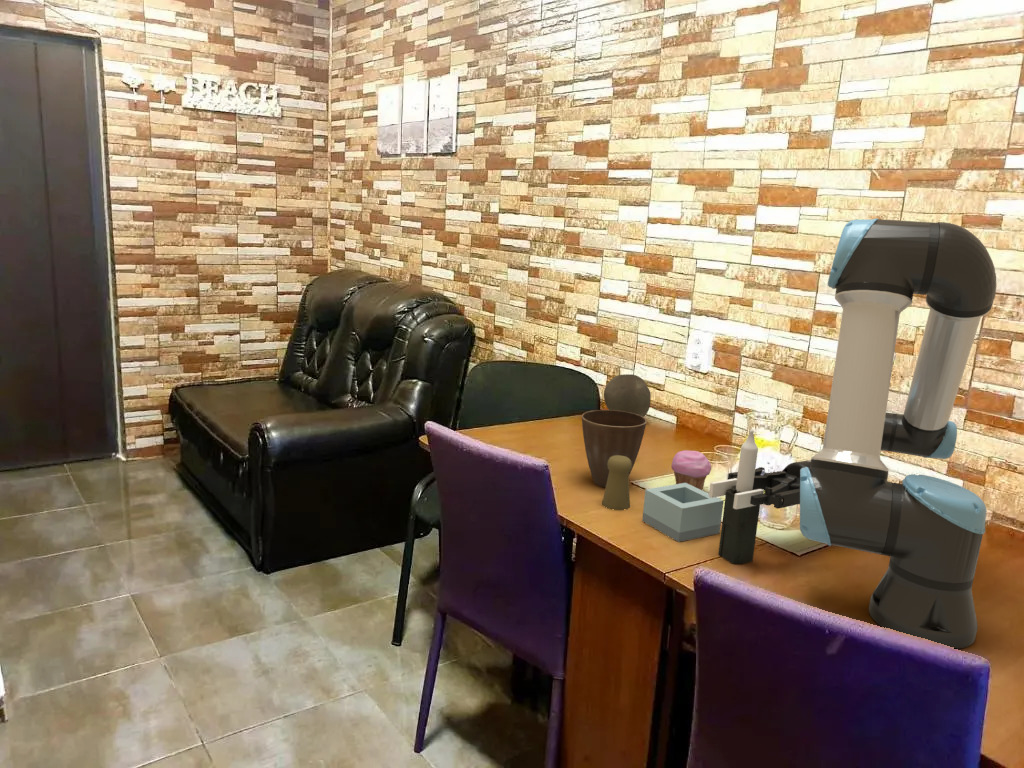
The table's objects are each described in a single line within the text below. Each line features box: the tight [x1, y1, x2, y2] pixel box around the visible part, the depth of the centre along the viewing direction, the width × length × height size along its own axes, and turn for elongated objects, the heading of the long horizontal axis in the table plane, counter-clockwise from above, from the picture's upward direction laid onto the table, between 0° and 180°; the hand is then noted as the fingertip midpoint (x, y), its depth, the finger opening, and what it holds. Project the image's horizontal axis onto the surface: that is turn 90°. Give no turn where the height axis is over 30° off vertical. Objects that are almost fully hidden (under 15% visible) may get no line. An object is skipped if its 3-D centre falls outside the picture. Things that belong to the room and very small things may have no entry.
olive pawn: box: [601, 455, 633, 511], centre depth 161 cm, size 6×6×11 cm
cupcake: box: [671, 450, 712, 491], centre depth 172 cm, size 9×9×10 cm
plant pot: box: [581, 409, 648, 489], centre depth 174 cm, size 15×15×16 cm
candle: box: [717, 428, 761, 565], centre depth 137 cm, size 5×5×25 cm
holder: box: [641, 483, 725, 543], centre depth 151 cm, size 11×11×7 cm
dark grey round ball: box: [603, 373, 652, 418], centre depth 230 cm, size 14×14×15 cm
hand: (723, 495), depth 134 cm, fingers closed on candle, 5 cm apart
